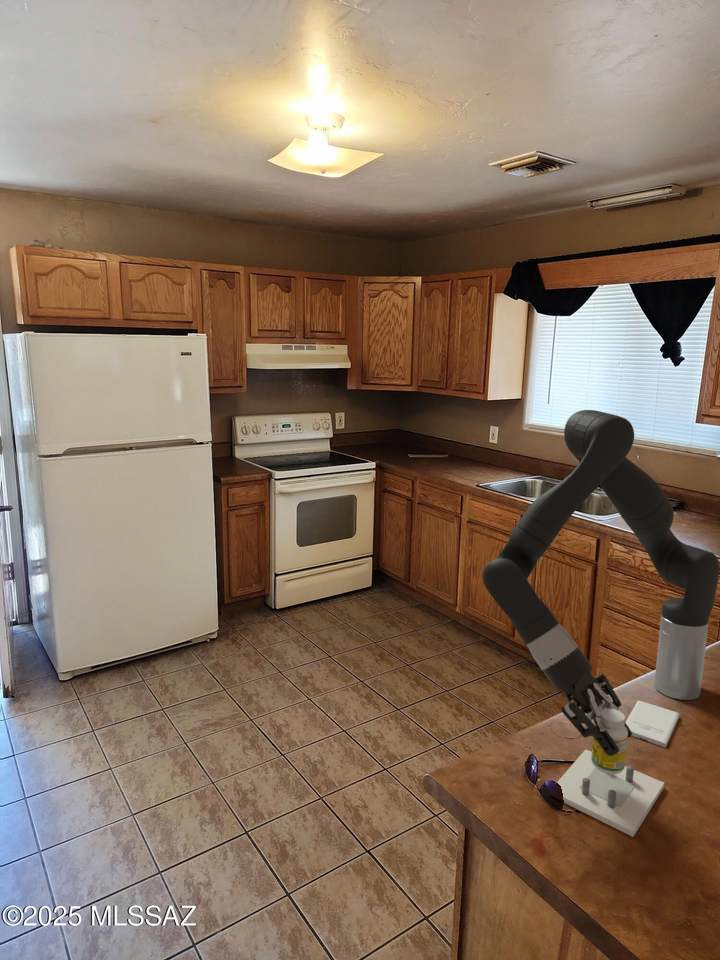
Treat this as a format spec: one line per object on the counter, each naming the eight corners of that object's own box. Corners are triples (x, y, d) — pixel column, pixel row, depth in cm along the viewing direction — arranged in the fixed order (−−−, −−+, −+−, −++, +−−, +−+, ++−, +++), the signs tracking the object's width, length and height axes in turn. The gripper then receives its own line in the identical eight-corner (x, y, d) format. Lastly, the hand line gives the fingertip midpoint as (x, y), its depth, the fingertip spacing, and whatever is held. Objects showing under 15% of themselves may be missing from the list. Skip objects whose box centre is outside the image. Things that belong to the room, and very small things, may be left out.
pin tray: (585, 753, 119) (586, 737, 118) (663, 787, 109) (665, 770, 109) (549, 795, 108) (550, 777, 107) (633, 837, 98) (635, 817, 98)
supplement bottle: (624, 778, 104) (630, 727, 102) (590, 770, 106) (595, 719, 104) (624, 759, 109) (629, 709, 107) (591, 751, 111) (595, 703, 109)
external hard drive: (678, 720, 130) (665, 750, 120) (637, 706, 135) (620, 734, 125) (679, 713, 130) (666, 742, 120) (637, 699, 134) (621, 727, 125)
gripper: (555, 662, 103) (623, 758, 98) (591, 633, 113) (653, 719, 108) (524, 680, 108) (587, 773, 102) (561, 651, 118) (619, 733, 113)
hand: (621, 744), depth 105 cm, fingers closed on supplement bottle, 5 cm apart
